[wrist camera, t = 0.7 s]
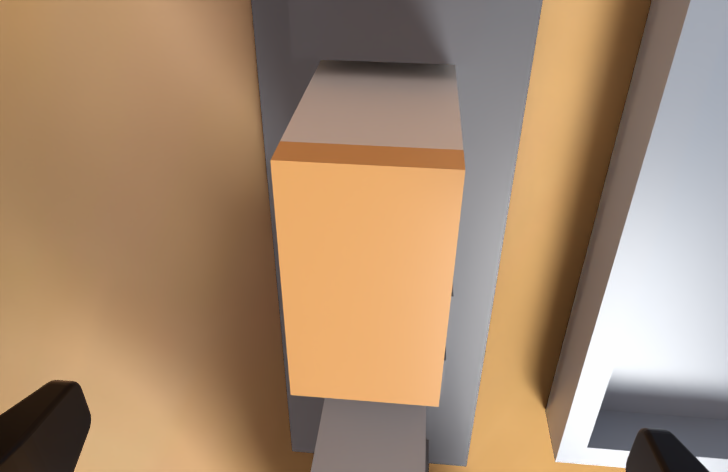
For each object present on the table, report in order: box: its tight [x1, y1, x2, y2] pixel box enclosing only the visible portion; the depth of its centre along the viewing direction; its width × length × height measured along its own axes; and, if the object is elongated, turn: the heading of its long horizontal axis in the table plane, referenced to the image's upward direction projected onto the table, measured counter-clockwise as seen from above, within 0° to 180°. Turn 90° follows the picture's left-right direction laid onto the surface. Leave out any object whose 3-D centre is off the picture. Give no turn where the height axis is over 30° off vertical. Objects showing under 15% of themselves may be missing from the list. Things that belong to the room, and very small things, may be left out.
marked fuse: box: [270, 60, 465, 407], centre depth 15 cm, size 6×3×8 cm, turn 0°
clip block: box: [251, 0, 543, 472], centre depth 21 cm, size 21×8×4 cm, turn 0°
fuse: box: [311, 398, 426, 472], centre depth 21 cm, size 6×3×8 cm, turn 0°
